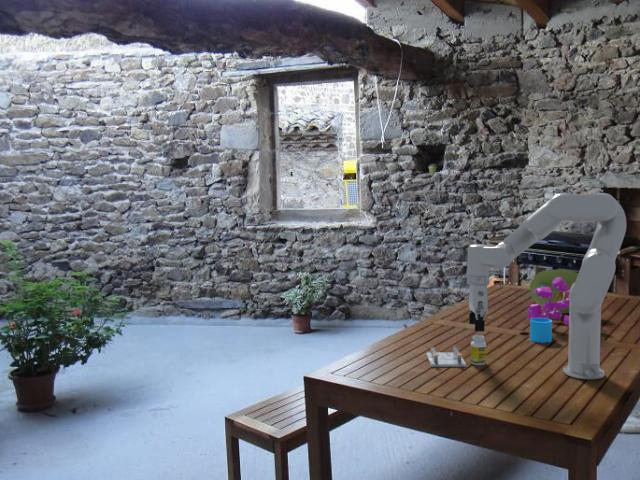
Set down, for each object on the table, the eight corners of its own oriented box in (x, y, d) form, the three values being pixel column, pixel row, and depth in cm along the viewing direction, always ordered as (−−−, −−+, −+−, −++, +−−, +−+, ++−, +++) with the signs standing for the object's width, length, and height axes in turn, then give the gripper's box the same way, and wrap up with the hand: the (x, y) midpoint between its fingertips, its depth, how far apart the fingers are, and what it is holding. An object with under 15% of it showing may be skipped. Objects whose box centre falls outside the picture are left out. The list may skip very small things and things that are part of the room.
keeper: (466, 366, 208) (466, 355, 208) (431, 367, 209) (431, 355, 208) (458, 354, 222) (459, 344, 222) (426, 355, 223) (426, 344, 222)
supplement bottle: (479, 366, 208) (479, 339, 207) (467, 362, 212) (467, 336, 211) (489, 363, 211) (489, 336, 210) (477, 359, 216) (477, 333, 215)
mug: (548, 344, 234) (548, 323, 233) (527, 340, 239) (527, 320, 238) (557, 337, 243) (557, 317, 242) (537, 334, 248) (537, 315, 247)
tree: (589, 251, 272) (585, 274, 242) (605, 310, 276) (604, 339, 245) (522, 265, 287) (511, 288, 257) (539, 320, 290) (530, 349, 260)
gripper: (494, 284, 200) (493, 334, 202) (483, 275, 217) (482, 321, 219) (472, 284, 200) (470, 334, 202) (462, 275, 218) (461, 321, 220)
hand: (476, 327), depth 211 cm, fingers open, 9 cm apart
